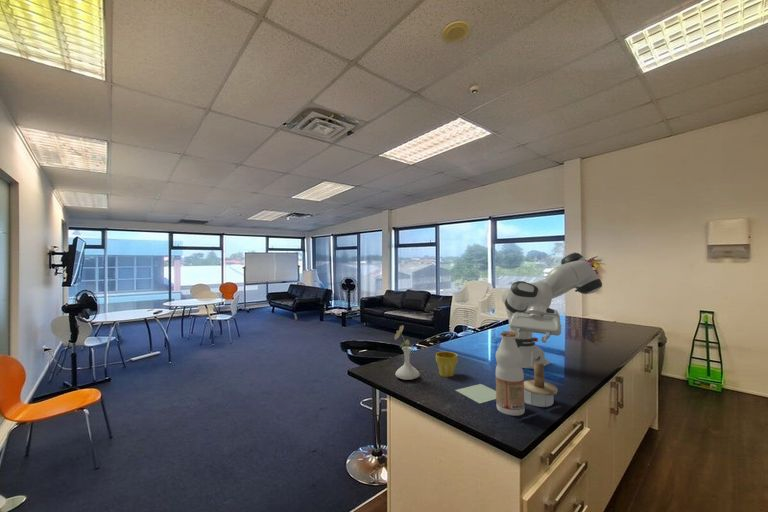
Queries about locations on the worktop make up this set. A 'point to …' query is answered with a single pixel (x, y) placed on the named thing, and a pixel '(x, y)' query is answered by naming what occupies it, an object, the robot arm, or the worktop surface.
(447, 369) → the plant pot
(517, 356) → the fruit juice
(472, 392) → the mat
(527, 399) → the bowl
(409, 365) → the flower in vase
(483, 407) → the worktop surface
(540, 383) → the lid
